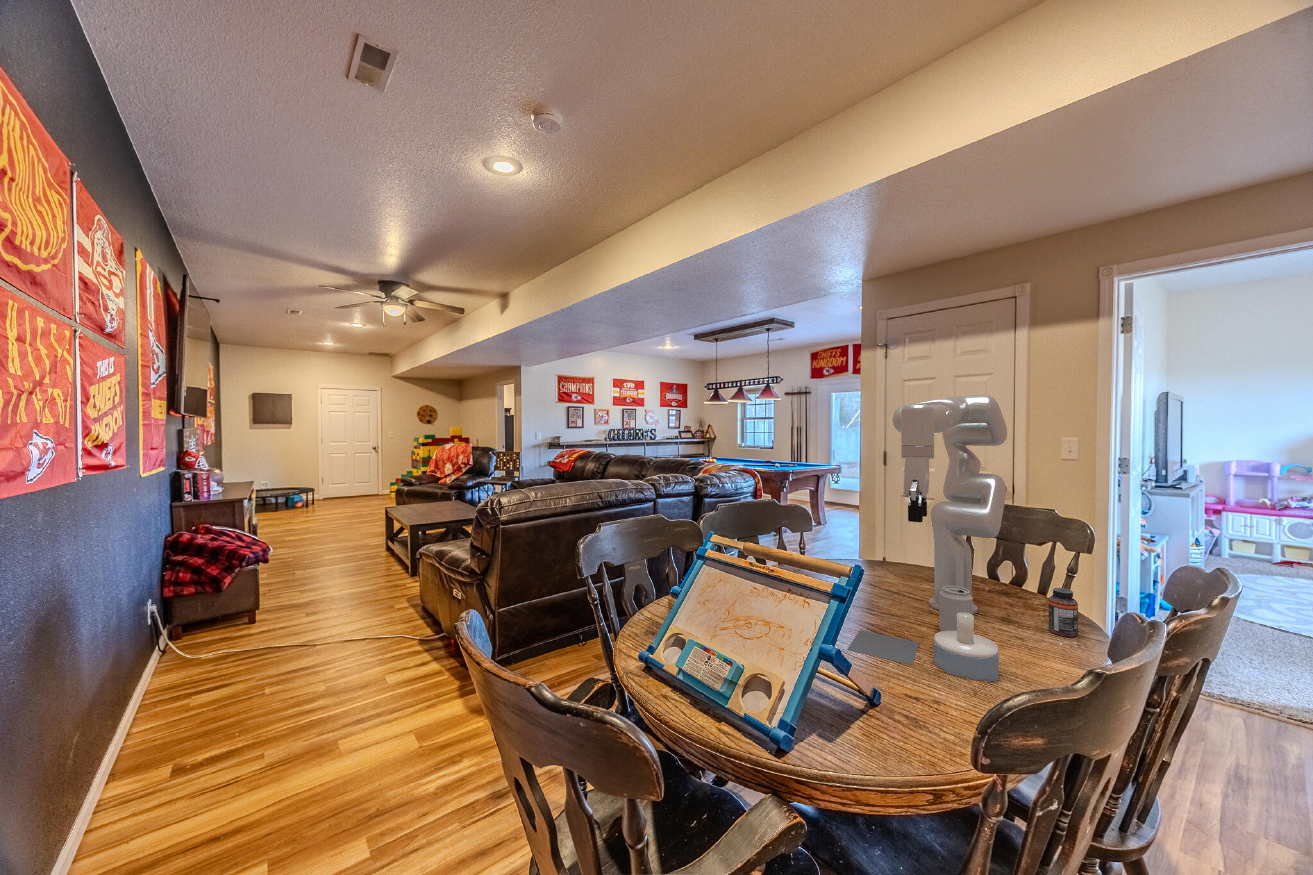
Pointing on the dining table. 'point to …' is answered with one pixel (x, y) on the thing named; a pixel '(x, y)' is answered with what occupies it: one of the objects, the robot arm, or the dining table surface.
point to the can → (953, 606)
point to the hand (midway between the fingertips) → (917, 518)
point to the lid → (966, 639)
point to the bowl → (967, 665)
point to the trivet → (884, 647)
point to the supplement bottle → (1063, 613)
